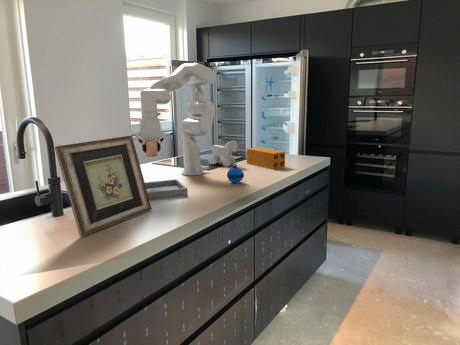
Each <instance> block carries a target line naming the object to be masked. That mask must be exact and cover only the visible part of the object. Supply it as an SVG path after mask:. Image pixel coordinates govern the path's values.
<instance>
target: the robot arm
mask: <svg viewBox="0 0 460 345" xmlns="http://www.w3.org/2000/svg"><path fill="white" fill-rule="evenodd" d="M215 81H216V73H215V71H214V70H213V69H212V68H210V67H208V66H205V65H203V64H201V63H199V62H193V63H192V62H191V63H183V64H181V65H180V66H178V68H176V69H175V70H174V71H173V72H172V73H171V74H169V76H168V75H167V76H166V77H164V78H162V79H160V80H157V81H155V82H154V83H153V84H151V85H150V86H148V88H147V89H141V91H140V107H141V109H140V110H141V118H139V131H138V133H137V134H136V135H135V136H134V138H135V140H136V141H138V142H139V143H140V144H141V146H142V147H141V148H142V151H143V152H144V153H145V154H146V145H145V141H146V140H147V139H157V145H158V153H160V151H161V143H162V142H163V141H164V140H165V139H166V138H167V134H166V133H165V132H163V131H162V127H161V122H160V118H159V116H161V112H158V105H167V104H168V103H170V102H171V100H172V95H171V93H173V92H176V91H179V90H180V89H182V88H183V86H184V85H186V84H187V83H188V84H189V86H190V88H191V95H190V100H189V103H188V107H187V115H188V117H190V118H186V119H183V120H181V123H180V126H179V127H180V128H179V129H180V132H181V137H182V152H183V170H181V174H182V175H183V176H201V175H203V174H204V170H209V165H204V166H203V165H201V147H200V146H201V144H200V141H199V138H198V137H206V136H208V135H209V134H210V132H211V129H212V124H213V121H214V118H215V105H214V103H213V102H211V101H209V100H207V101H206V99H207V92H206V89H205V88H204V85H205V86H207V85H212V84H214V83H215Z"/></svg>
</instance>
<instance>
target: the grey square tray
mask: <svg viewBox="0 0 460 345" xmlns="http://www.w3.org/2000/svg"><path fill="white" fill-rule="evenodd" d="M144 182H145V181H144ZM145 186H146V189H147V193H148V197H149V201H155V200H165V199H172V198H180V197H181V198H182V197H187V196H189V193H188V192H189V190H188V188H187V186H185V185H184V184H183V182H181V181H180V180H179V179H177V178H176V179H175V178H174V179H166V180H156V181H147V182H145Z"/></svg>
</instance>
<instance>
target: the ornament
mask: <svg viewBox="0 0 460 345" xmlns="http://www.w3.org/2000/svg"><path fill="white" fill-rule="evenodd" d="M226 177H227V179H228V180H229V182H230V183H233V184H239V183H240V182H241V181H243V178H244V177H245V173H244V171H243V170H242V169H241V168H240V167H239V166H238V165H237V163H235V164H234V165H233V167H231V168H230V169H229V170H228V171H227V173H226Z"/></svg>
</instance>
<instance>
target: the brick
mask: <svg viewBox="0 0 460 345" xmlns="http://www.w3.org/2000/svg"><path fill="white" fill-rule="evenodd" d="M246 164H248V165H252V166H256V167H260V168H265V169H269V170H278V169H283V168H284V169H285V168H286V151H285V150H284V151H282V150H277V149H271V148H266V147H260V146H258V147H256V146H255V147H251V148H250V147H249V148H246Z"/></svg>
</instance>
